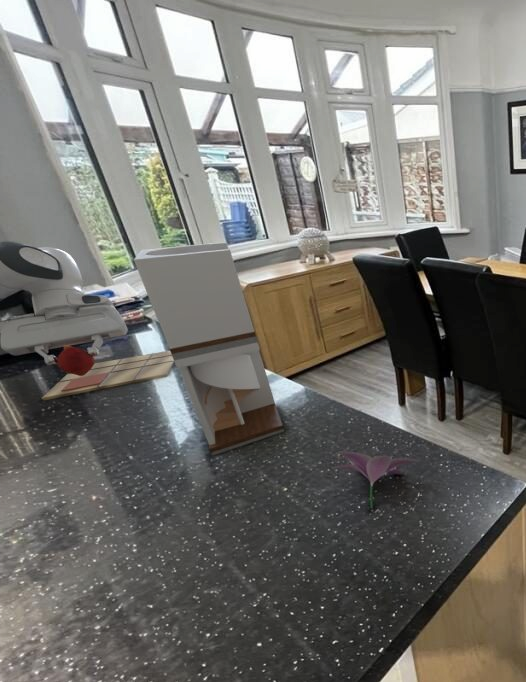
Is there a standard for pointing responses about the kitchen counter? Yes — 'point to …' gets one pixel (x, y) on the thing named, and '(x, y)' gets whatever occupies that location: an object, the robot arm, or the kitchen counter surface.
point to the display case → (211, 341)
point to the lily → (373, 466)
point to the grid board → (114, 374)
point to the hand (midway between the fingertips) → (73, 359)
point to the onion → (75, 360)
